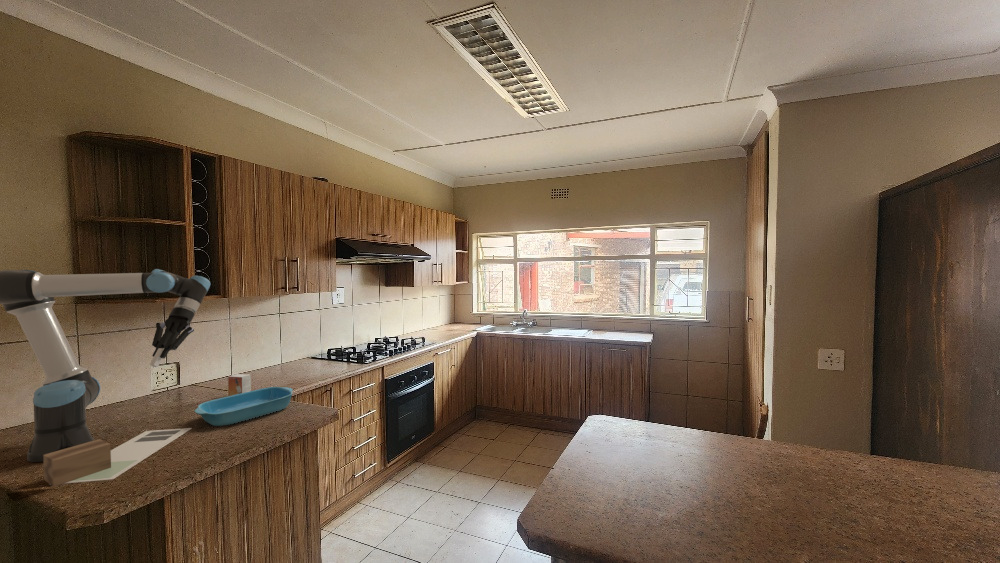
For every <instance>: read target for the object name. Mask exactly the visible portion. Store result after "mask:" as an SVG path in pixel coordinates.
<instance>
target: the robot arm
mask: <svg viewBox="0 0 1000 563" xmlns="http://www.w3.org/2000/svg"><path fill="white" fill-rule="evenodd" d="M210 287H211V281H210V280H209V278H207V277H204V276H202V275H192V276H191V277H190V278H187V277H183V276H180V275H178V274H175V273H173V272H169V271H166V270H162V269H159V268H155V269H153V270H152V271H151V272H135V273H134V272H128V273H127V272H126V273H125V272H121V273H84V274H83V273H81V274H78V273H76V274H75V273H74V274H72V273H71V274H43V273H41V272H39V271H36V270H31V269H3V270H0V304H2V306H3V308H4V311H5V312H6V313H7V314H10V315H14V316H15V317H16V319H17V321H18V323H19V325H20V327H21V329H22V332H23V333H24V335H25V337H26V339H27V341H28V343H29V345H30V346H31V349H32V351H33V353H34V355H35V357H36V359H37V360H38V363H39V365H40V367H41V369H42V371H43V373H44V376H45V377H46V378H45V379H44V380H43V382H42V386H40V387H38V388H37V389H36V390H35V391H34V392H33V397H32V404H33V421H34V436H33V439H32V441H31V443H30V446H29V449H28V451H27V452H26V458H27V459H26V460H27V462H29V463H42V462H43V463H44V461H43V455H45V454H48V453H52V452H55V451H59V450H62V449H66V448H70V447H73V446H77V445H80V444H84V443H87V442H91V441H94V440H95V438H94V437H93V435H92V434H91V431H90V430H89V427H88V426H87V415H86V414H87V411H86V409H87V407H88V406H89V405H91V404H93V403H94V402H95V400H97V398H98V397H99V394H100V392H101V384H100V382H99V380H98V379H97V378H95V377H93V376H92V374H91V372H90V371H89V369H88V368H87V367H82V366H80V364H79V362H78V360H77V357H76V355H75V353H74V351H73V348H72V347H71V345H70V343H69V341H68V338H67V337H66V336H67V335H66V334H65V332H64V330H63V328H62V326H61V323H60V322H59V319H58V318H57V316H56V313H55V312H54V309H53V306H54V304H55V303H56V300H55V298H54V297H56V298H58V297H78V296H79V297H80V296H100V295H120V294H121V295H122V294H123V295H124V294H144V293H146V294H147V293H148V294H149V293H151V294H152V293H167V292H168V293H171V294H174V295H177V296H179V297H178V299H177V301H176V302H175V304H174V306H173V308H172V309H171V311H170V313H169V315H168V318H167V319H165V320H164V321H163V322H161V323H160V322H156V323H155V327H156V328H155V332H154V336H153V340H152V344H151V345H152V346H153V347H154V348H155V350H154V352H153V353H152V359H151V360H150V363H149V365H150V366H151V367H154V368H158V367H159V366H160V364H161V362H162V360H163V359H166V358H167V356H168V354H169V352H170V351H176V350H177V349H178V348H179V347H180V346H181V344H183V342H184V341H185V340H186V338H188V336H189V335H190V334H192V333H193V332H194V331H195V330H194V328H193V327H192V326H191V322H192V321H193V319H194V317H195V314H196V313H197V312H198V309H199V308H200V306H201V305H202V304H201V303H202V302H203V301H204V298H205V296H207V294H208V291H209V289H210Z"/></svg>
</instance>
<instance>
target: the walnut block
mask: <svg viewBox="0 0 1000 563" xmlns="http://www.w3.org/2000/svg"><path fill="white" fill-rule="evenodd" d="M111 448H112V447H111V443H109V442H108V441H105V440H103V439H100V438H99V439H94V441H91V442H87V443H84V444H80V445H77V446H73V447H70V448H66V449H62V450H59V451H55V452H52V453H48V454H45V455H43V461H44V462H43V480H44V482H46V483H48V485H49V484H51V485H50V486H51V487H58V486H59V485H65V484H68V483H67V482H69V481H72V480H75V479H78V478H81V477H84V476H87V475H90V474H93V473H96V472H99V471H102V470H105V469H108V468H111V450H112V449H111Z"/></svg>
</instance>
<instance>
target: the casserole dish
mask: <svg viewBox="0 0 1000 563" xmlns="http://www.w3.org/2000/svg"><path fill="white" fill-rule="evenodd" d="M293 390H294V389H293V388H291V387H287V386H282V387H281V386H269V387H264V388H258V389H255V390H251V391H249V392H245V393H241V394H236V395H232V396H224V397H220V398H216V399H211V400H208V401H204V402H201V403H199V404H198V405H197V408H195V409H194V413H195V414H196V415H199V416H201V418H202V419H203V420H204V421H205V422H206V423H208V424H209V425H211V426H214V427H218V426H219V427H223V426H230V424H231V425H235V424H239V423H242V422H241V421H243V422H245V420H246V421H249V419H250V420H253V419H255V417H256V418H260V417H263V415H264V416H266V414H267V415H271V414H274V413H276V411H277V412H280V411H282V409H283V410H284V409H286V407H288V406H289V404H290V403H291V399H292V396H293ZM273 412H274V413H273ZM270 413H271V414H270ZM259 416H260V417H259ZM252 418H253V419H252ZM238 422H239V423H238ZM234 423H235V424H234Z"/></svg>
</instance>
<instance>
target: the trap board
mask: <svg viewBox="0 0 1000 563" xmlns="http://www.w3.org/2000/svg"><path fill="white" fill-rule="evenodd" d="M192 429H193V428H192V427H188V428H187V427H185V428H173V429H171V428H170V429H169V428H168V429H159V430H158V429H157V430H156V429H155V430H145V431H144V432H142V433H140V434H138V435H136V436H135V437H132V438H131V439H129V440H127V441H126V442H123V443H122V444H120V445H118V446H116V447H114V448H113V449H111V468H108V469H105V470H102V471H99V472H96V473H93V474H90V475H87V476H84V477H81V478H78V479H75V480H72V481H69V482H67V483H66V484H69V486H73V485H75V484H76V483H81V485H82V484H86V483H87V482H93V484H94V483H96V481H97V482H100V481H104V483H105V482H110V481H111V480H114V479H115V478H117V477H119V476H120V475H123V473H125V472H126V471H129V469H131V468H133V467H135V466H136V465H137V464H139V463H141V462H142V461H143V460H145V459H147V458H148V457H150V456H151V455H152V454H154V453H156V452H158V451H159V450H161V449H162V448H163V447H164V448H165V446H167V445H168V444H170V443H172V442H173V441H174V440H176V439H178V438H179V437H181V436H182V435H184V434H186V433H187V432H189V431H190V430H192ZM72 483H73V484H72ZM48 485H50V486H48V487H51V486H52V485H51V484H49V483H48ZM58 486H63V484H61V485H58Z"/></svg>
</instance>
